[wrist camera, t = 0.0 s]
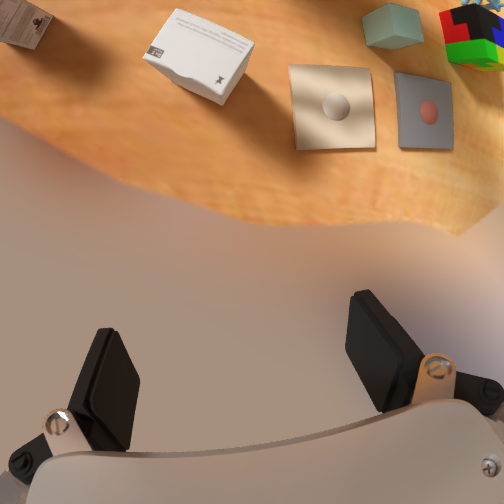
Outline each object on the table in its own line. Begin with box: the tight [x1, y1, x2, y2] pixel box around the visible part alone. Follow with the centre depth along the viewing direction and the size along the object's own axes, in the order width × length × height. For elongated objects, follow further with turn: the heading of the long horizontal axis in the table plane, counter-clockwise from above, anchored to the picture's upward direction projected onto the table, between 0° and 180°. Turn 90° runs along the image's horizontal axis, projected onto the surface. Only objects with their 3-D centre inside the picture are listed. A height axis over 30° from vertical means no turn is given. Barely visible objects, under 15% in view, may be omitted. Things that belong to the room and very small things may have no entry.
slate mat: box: [394, 72, 454, 149], centre depth 37 cm, size 12×12×1 cm
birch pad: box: [288, 65, 375, 150], centre depth 36 cm, size 12×12×1 cm
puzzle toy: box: [439, 3, 504, 71], centre depth 28 cm, size 10×10×10 cm
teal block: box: [362, 3, 424, 50], centre depth 29 cm, size 5×5×8 cm
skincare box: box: [143, 8, 255, 106], centre depth 26 cm, size 8×6×15 cm
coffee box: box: [0, 0, 53, 50], centre depth 17 cm, size 9×6×16 cm
